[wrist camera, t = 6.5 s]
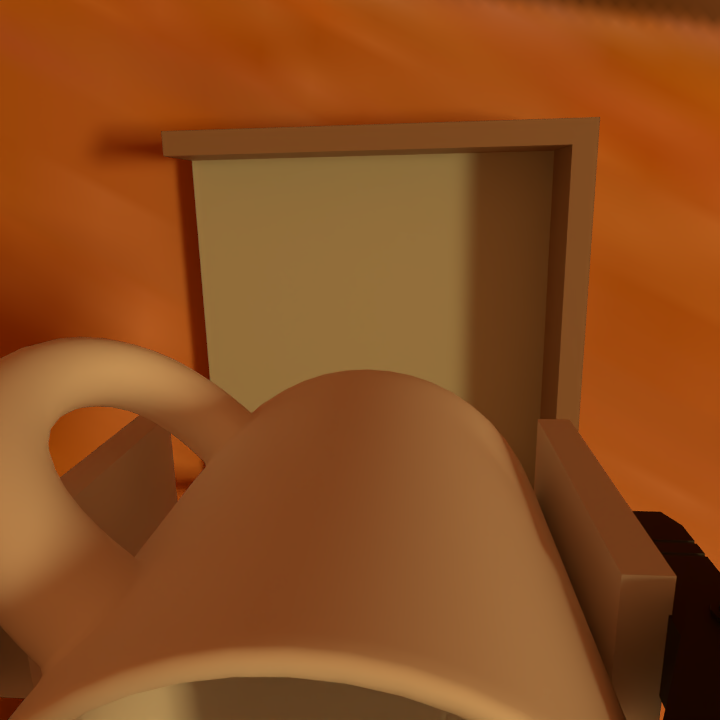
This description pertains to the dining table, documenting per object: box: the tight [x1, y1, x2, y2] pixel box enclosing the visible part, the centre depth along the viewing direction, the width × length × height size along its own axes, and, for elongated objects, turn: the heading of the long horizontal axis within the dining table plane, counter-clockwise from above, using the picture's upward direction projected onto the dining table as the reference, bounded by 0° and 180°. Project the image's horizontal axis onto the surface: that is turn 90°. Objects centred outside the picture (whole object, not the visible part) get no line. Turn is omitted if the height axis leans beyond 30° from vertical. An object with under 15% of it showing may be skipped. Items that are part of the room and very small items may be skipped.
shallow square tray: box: [161, 117, 600, 490], centre depth 30 cm, size 18×19×4 cm
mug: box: [0, 337, 626, 720], centre depth 11 cm, size 12×8×10 cm
